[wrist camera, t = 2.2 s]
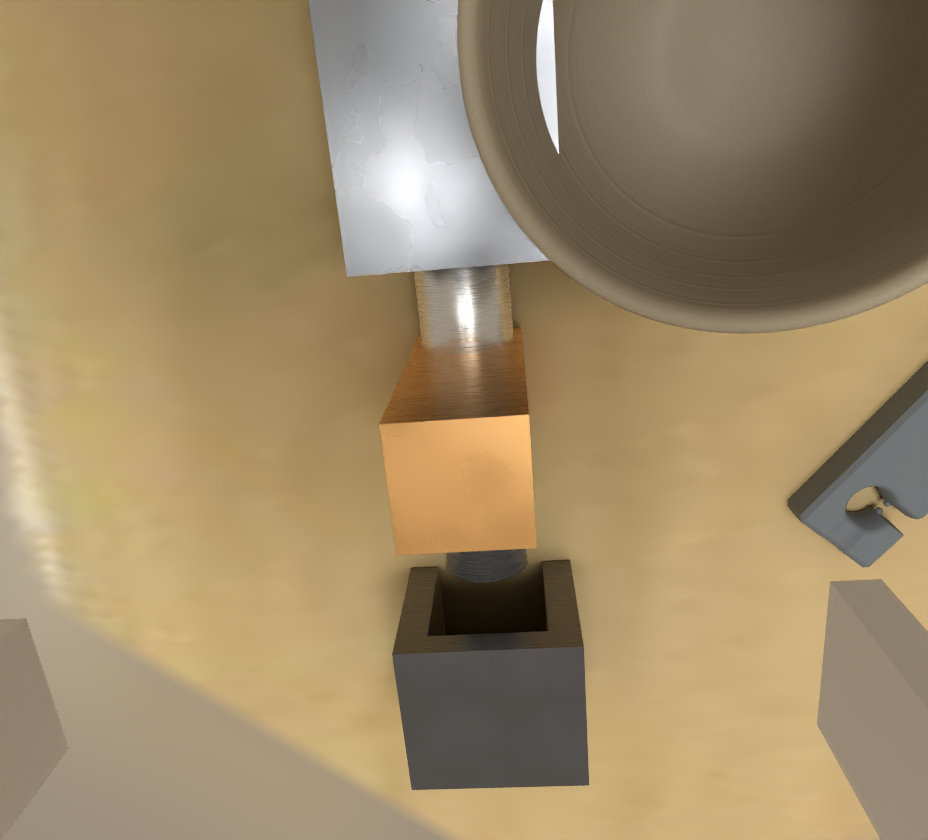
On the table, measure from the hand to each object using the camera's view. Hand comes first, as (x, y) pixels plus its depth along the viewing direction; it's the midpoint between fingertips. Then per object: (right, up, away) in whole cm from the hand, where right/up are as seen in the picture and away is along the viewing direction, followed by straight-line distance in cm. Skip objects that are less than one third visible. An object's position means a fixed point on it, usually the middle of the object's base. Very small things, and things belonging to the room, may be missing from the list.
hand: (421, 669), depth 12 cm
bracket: (+19, +4, +18) cm, 26 cm away
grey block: (0, +15, +14) cm, 21 cm away
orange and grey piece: (+1, +8, +17) cm, 19 cm away
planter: (+10, +16, +11) cm, 22 cm away
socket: (+2, -5, +22) cm, 22 cm away
